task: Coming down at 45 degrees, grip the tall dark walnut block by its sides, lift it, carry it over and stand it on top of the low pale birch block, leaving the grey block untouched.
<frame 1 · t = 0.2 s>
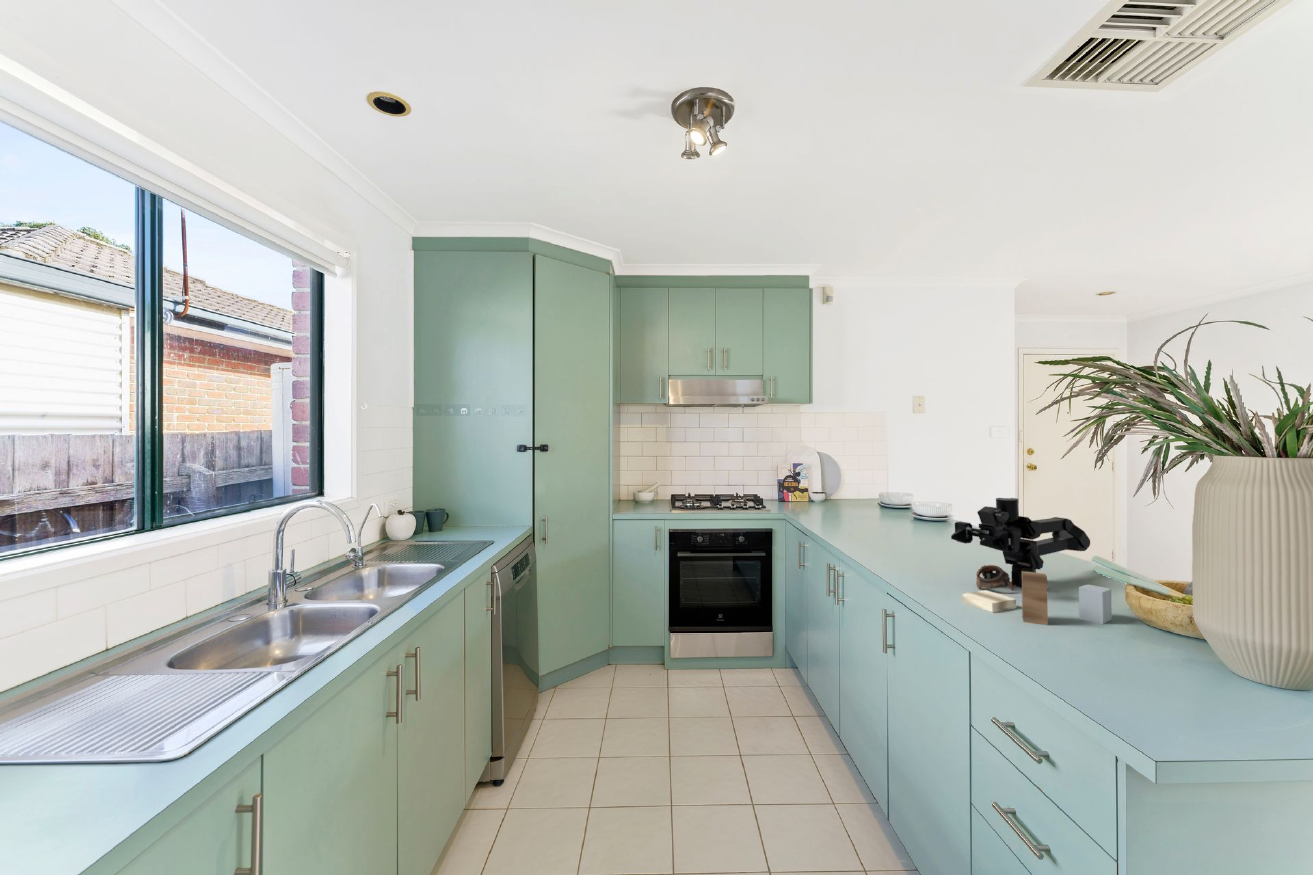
hand: (965, 540, 156), 17 cm above the worktop, tool horizontal, fingers open, 9 cm apart
grey block: (1095, 619, 136), on the worktop
pottery mug: (993, 589, 164), on the worktop
walnut block: (1034, 620, 136), on the worktop
birch block: (989, 606, 148), on the worktop
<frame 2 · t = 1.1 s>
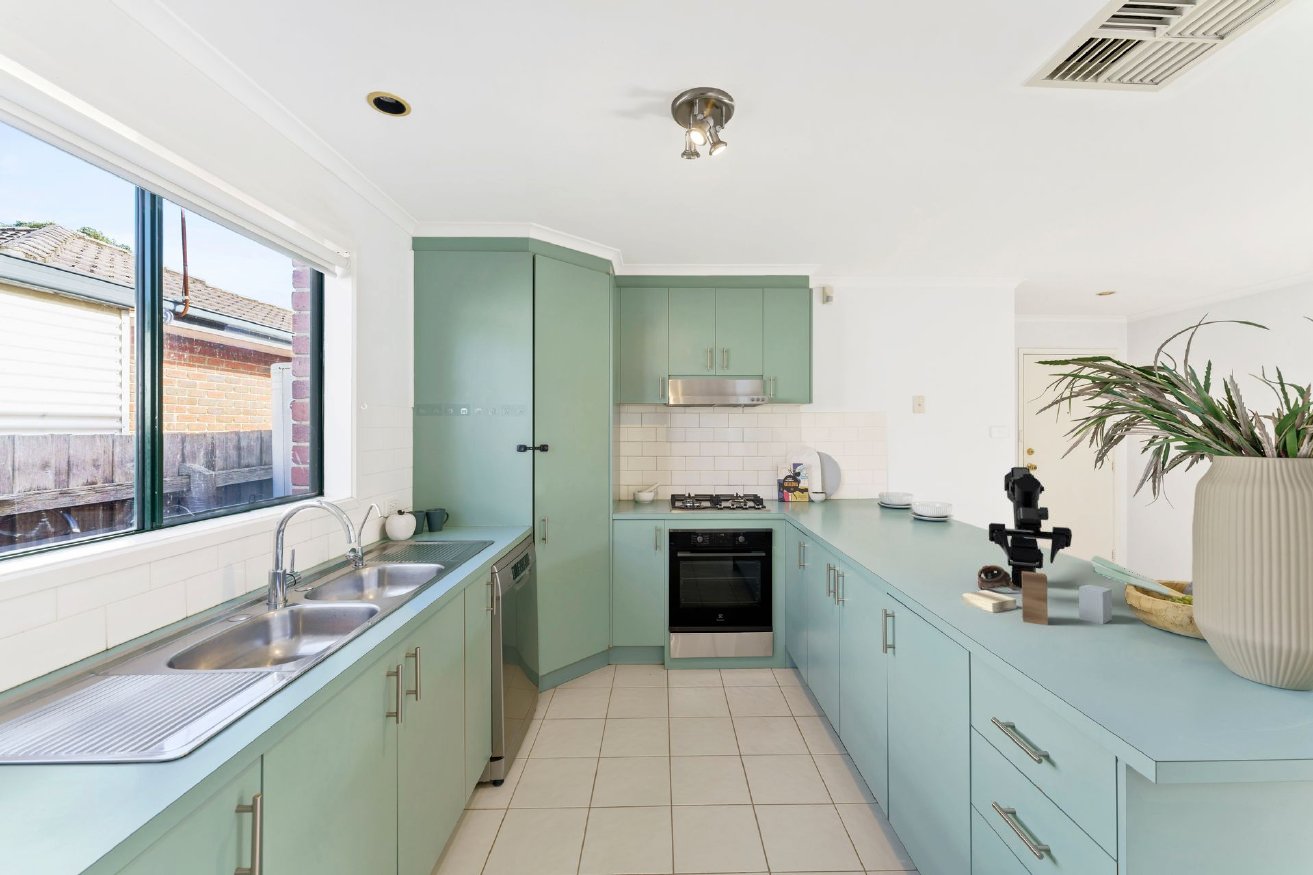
hand: (1030, 560, 143), 14 cm above the worktop, tool tilted 45°, fingers open, 9 cm apart
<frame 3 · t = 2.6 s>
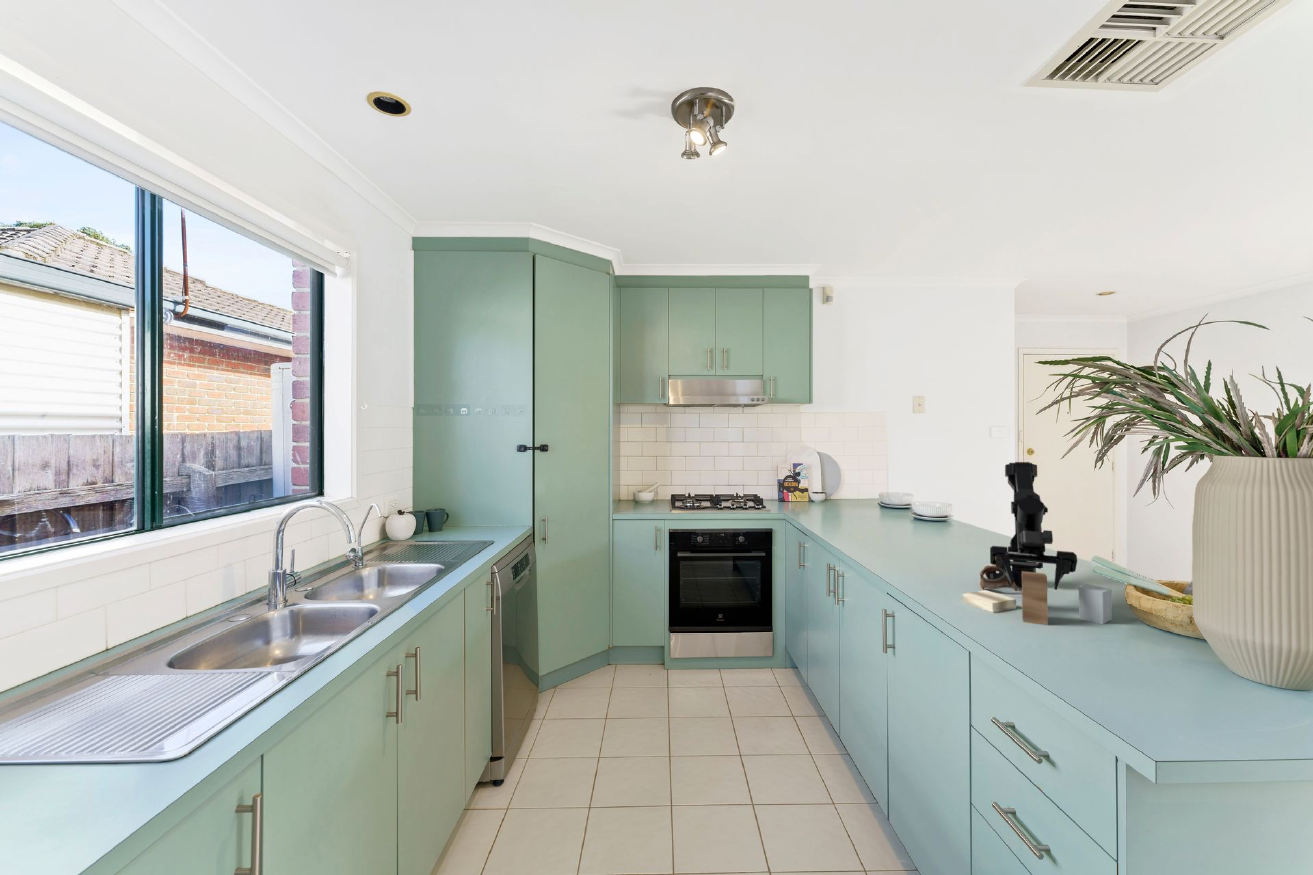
hand: (1033, 586, 136), 9 cm above the worktop, tool tilted 45°, fingers open, 9 cm apart
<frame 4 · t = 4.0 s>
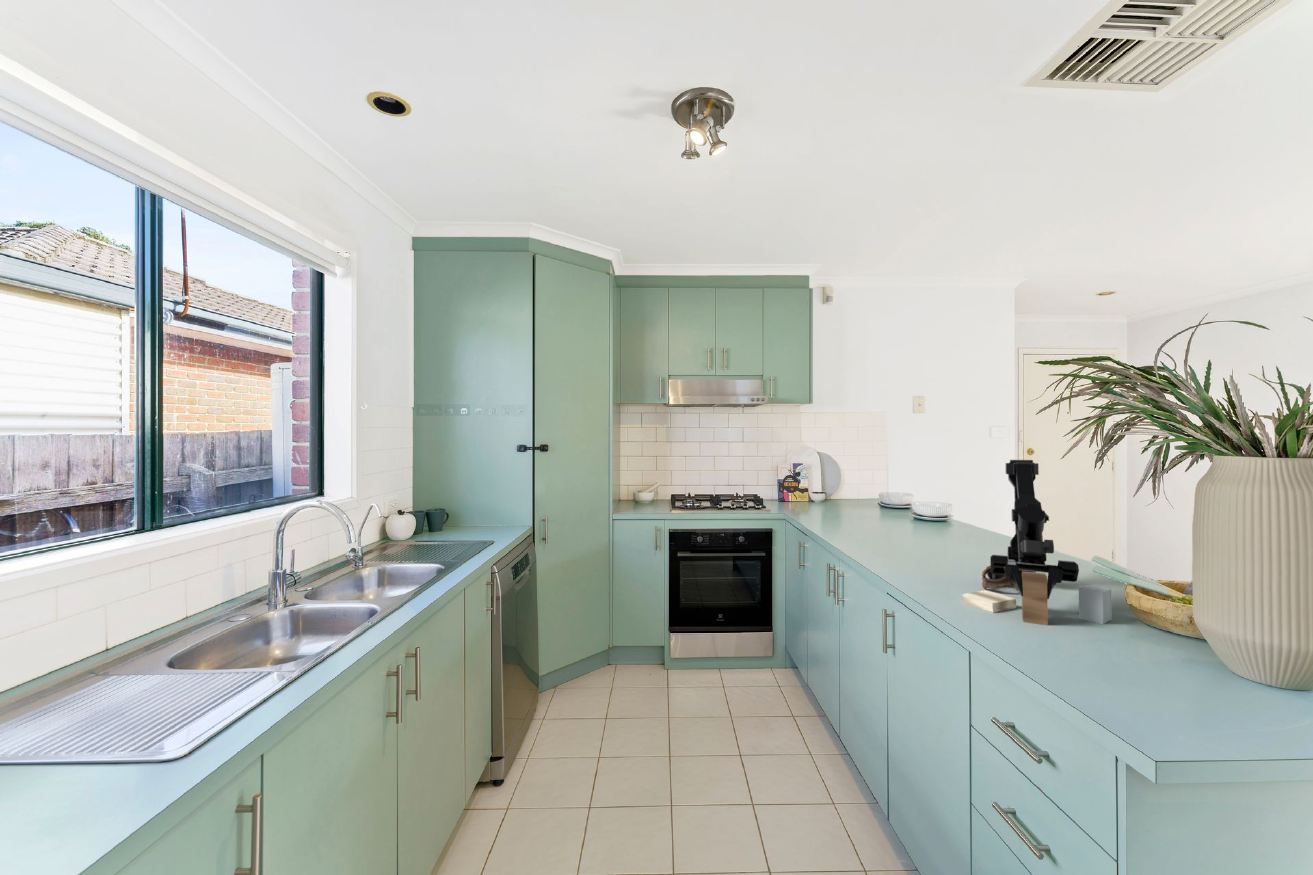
hand: (1034, 596, 134), 7 cm above the worktop, tool tilted 45°, fingers closed on walnut block, 5 cm apart
walnut block: (1034, 620, 136), on the worktop, touching gripper
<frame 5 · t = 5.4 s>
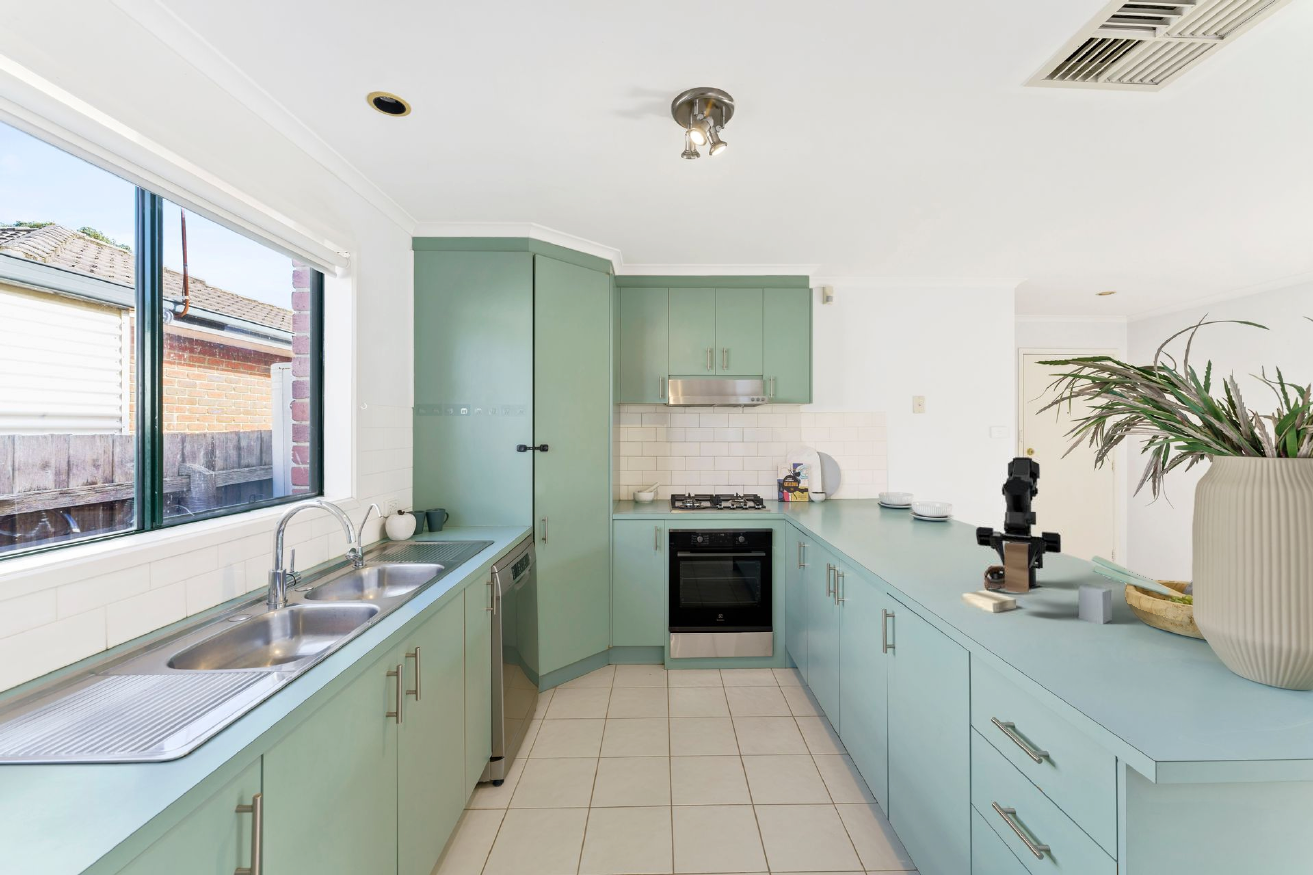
hand: (1016, 566, 139), 13 cm above the worktop, tool tilted 45°, fingers closed on walnut block, 5 cm apart
walnut block: (1017, 590, 140), point 7 cm above the worktop, touching gripper
when the fingers open (11 cm above the worktop, at t = 6.9 s): walnut block drops 1 cm, resting on birch block.
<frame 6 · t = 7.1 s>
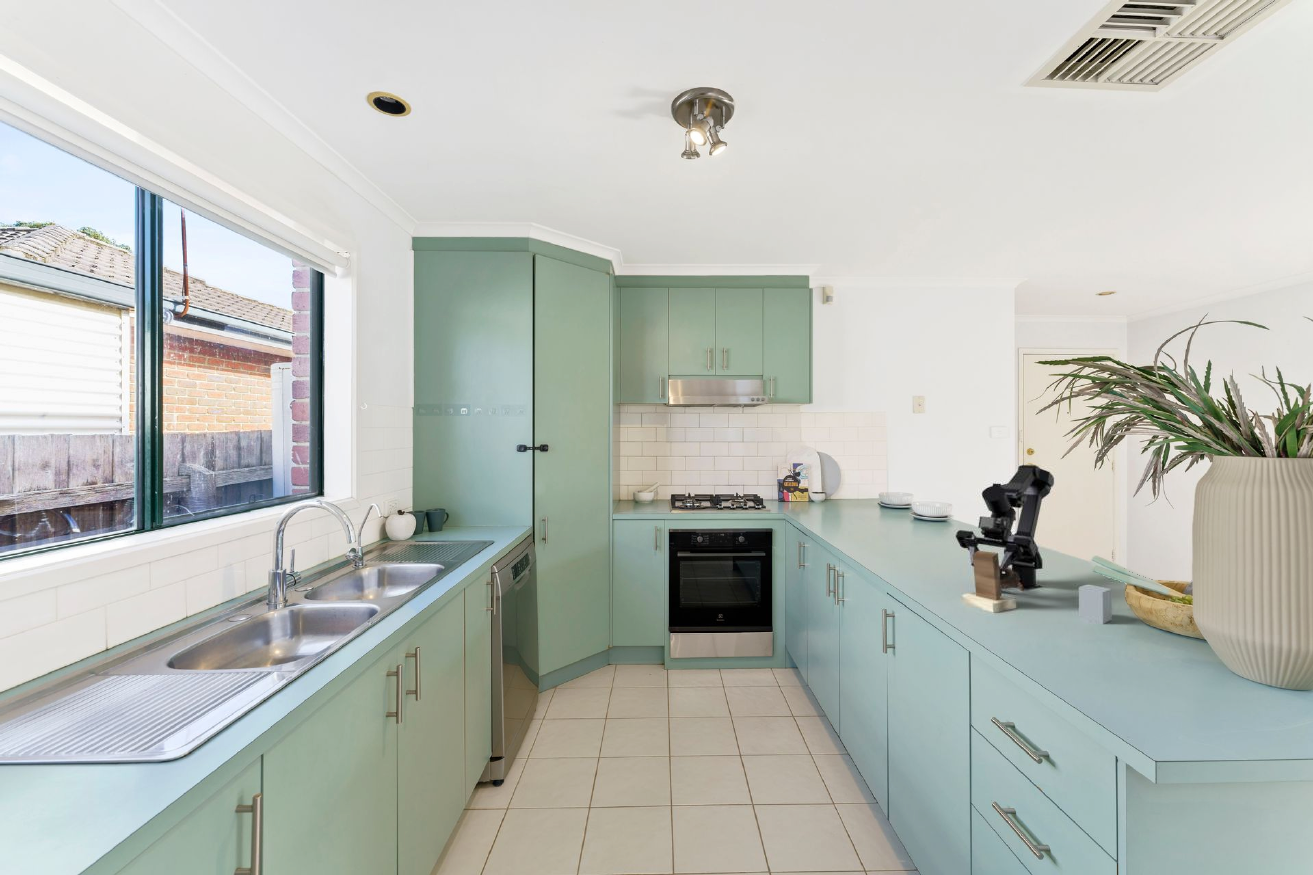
hand: (986, 567, 147), 11 cm above the worktop, tool tilted 45°, fingers open, 7 cm apart
walnut block: (988, 595, 148), point 3 cm above the worktop, tilted 6°, touching birch block
birch block: (989, 607, 148), on the worktop, touching walnut block
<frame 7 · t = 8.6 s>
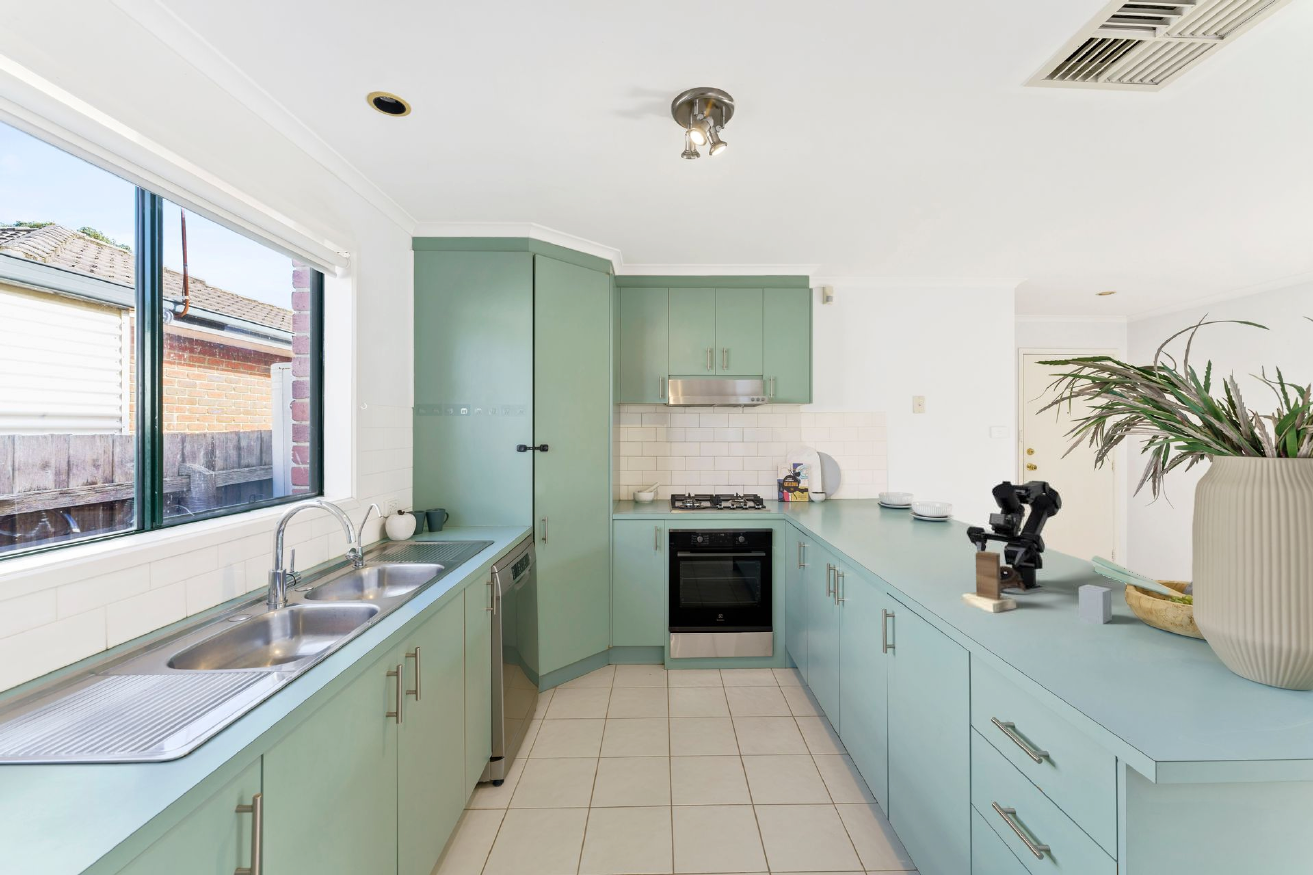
hand: (997, 562, 152), 11 cm above the worktop, tool tilted 45°, fingers open, 9 cm apart
walnut block: (988, 595, 148), point 3 cm above the worktop
birch block: (988, 607, 148), on the worktop
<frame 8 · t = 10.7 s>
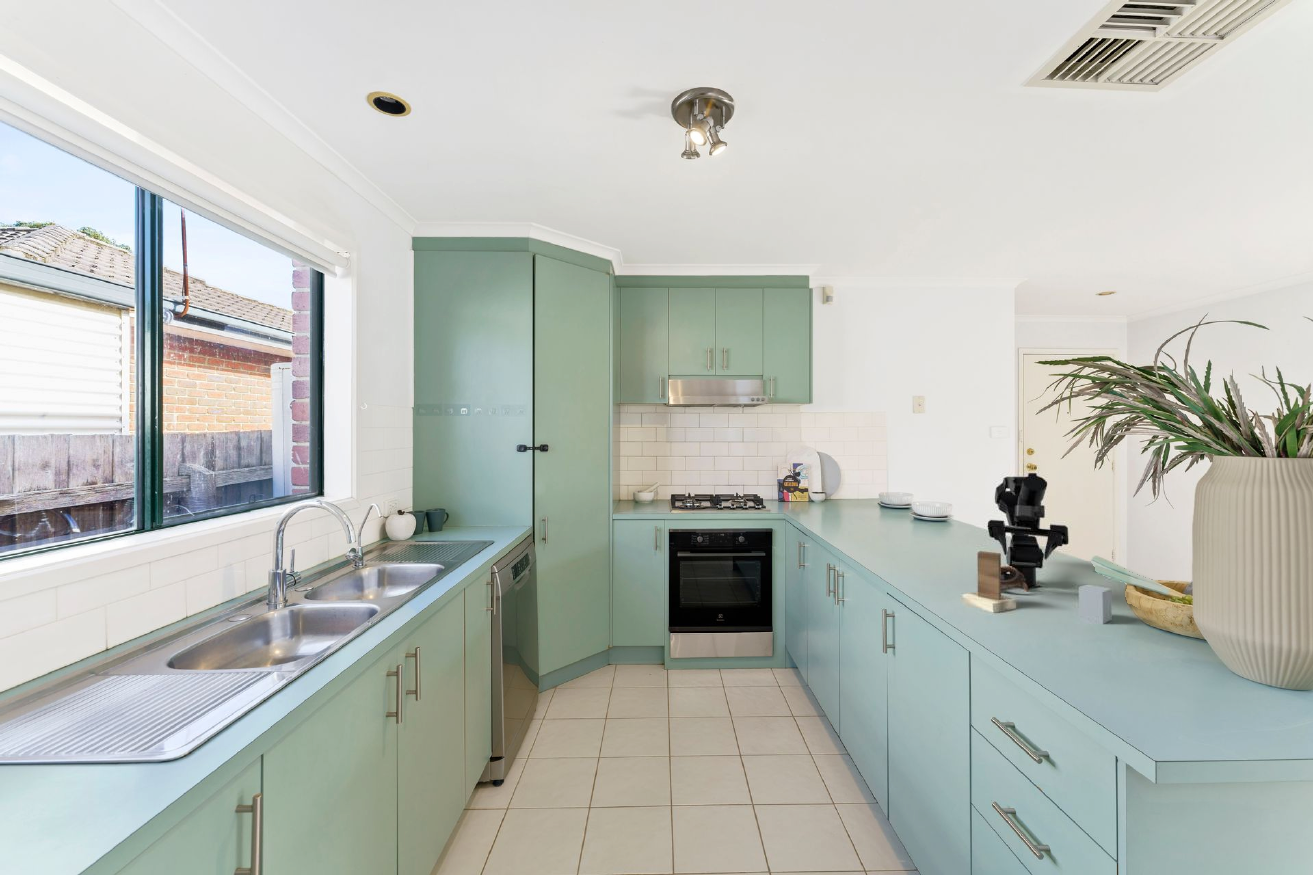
hand: (1024, 556, 148), 14 cm above the worktop, tool tilted 45°, fingers open, 9 cm apart
walnut block: (989, 596, 148), point 3 cm above the worktop, touching birch block
birch block: (988, 607, 148), on the worktop, touching walnut block
at the end: walnut block inside the target area on the birch block (0.4 cm from its centre), point 3.1 cm above the birch block's base; walnut block tilted 2°; the gripper is holding nothing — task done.
